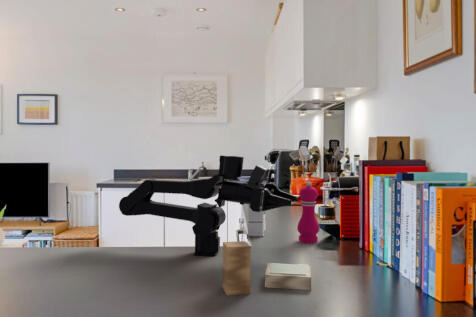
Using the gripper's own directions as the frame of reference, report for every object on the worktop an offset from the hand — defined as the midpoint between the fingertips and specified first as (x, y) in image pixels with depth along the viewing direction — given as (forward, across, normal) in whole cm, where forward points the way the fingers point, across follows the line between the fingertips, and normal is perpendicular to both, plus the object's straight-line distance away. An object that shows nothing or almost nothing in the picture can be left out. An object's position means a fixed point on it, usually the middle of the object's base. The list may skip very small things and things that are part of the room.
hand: (294, 200), depth 115 cm
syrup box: (-16, +31, +19) cm, 40 cm away
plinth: (+3, -19, +16) cm, 25 cm away
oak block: (-6, -29, +17) cm, 34 cm away
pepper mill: (+3, +26, +17) cm, 31 cm away
